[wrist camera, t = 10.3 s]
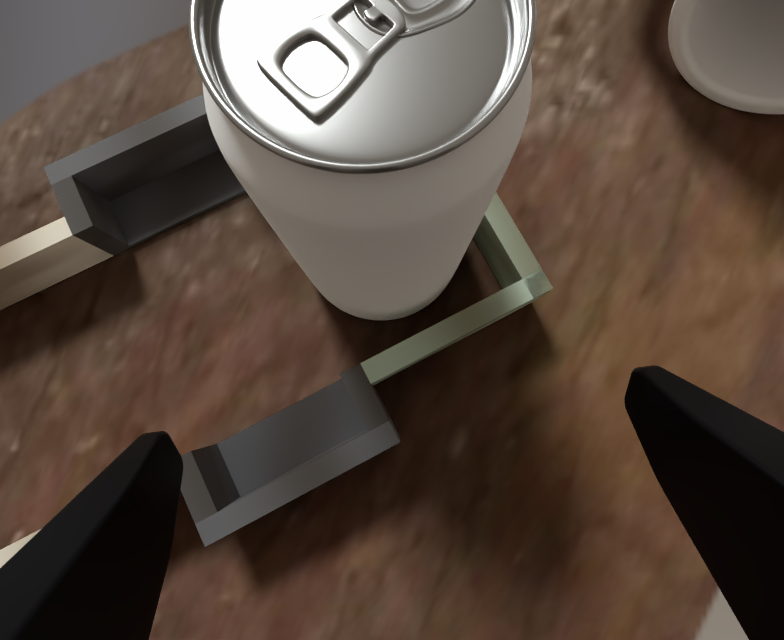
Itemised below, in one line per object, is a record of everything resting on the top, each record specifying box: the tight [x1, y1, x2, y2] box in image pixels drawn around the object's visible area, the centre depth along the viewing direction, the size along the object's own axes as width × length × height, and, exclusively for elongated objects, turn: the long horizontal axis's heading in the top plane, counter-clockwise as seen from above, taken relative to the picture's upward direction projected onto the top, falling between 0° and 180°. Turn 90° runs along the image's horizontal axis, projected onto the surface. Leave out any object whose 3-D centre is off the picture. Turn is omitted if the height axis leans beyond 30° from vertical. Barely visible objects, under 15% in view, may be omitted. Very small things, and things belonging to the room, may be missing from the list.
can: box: [189, 0, 536, 320], centre depth 13 cm, size 6×6×12 cm
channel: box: [0, 94, 553, 568], centre depth 17 cm, size 22×15×2 cm
